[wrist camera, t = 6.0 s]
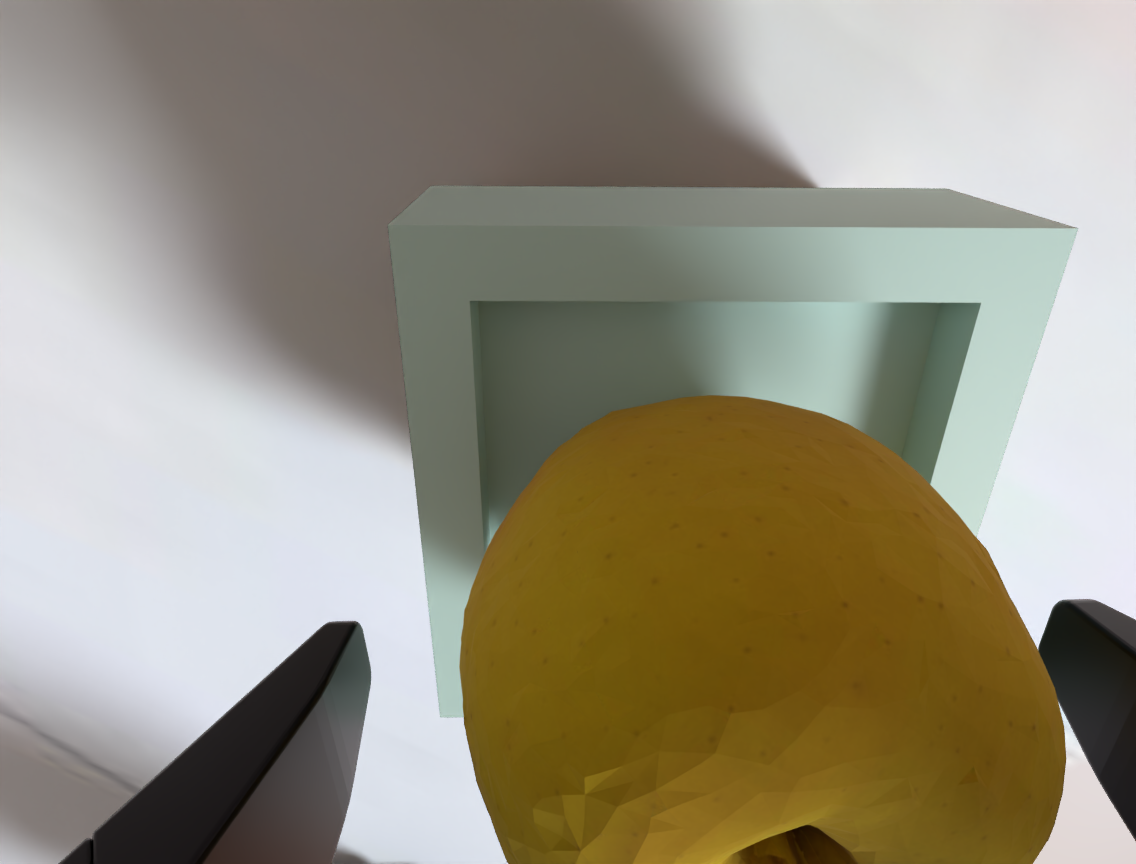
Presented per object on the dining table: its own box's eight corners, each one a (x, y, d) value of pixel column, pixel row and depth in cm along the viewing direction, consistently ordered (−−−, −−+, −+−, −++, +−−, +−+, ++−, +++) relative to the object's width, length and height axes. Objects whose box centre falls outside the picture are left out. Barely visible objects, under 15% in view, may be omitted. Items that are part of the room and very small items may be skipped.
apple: (774, 659, 14) (1014, 1271, 7) (453, 599, 13) (338, 1226, 6) (926, 364, 11) (1595, 860, 4) (535, 262, 10) (505, 664, 3)
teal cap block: (849, 593, 16) (918, 715, 13) (462, 593, 16) (440, 717, 13) (947, 188, 12) (1078, 228, 9) (431, 185, 12) (387, 225, 9)
